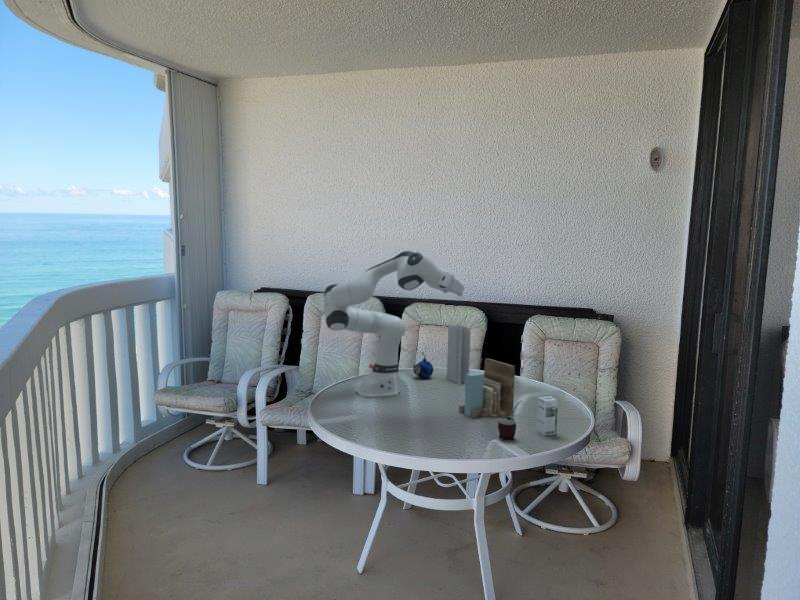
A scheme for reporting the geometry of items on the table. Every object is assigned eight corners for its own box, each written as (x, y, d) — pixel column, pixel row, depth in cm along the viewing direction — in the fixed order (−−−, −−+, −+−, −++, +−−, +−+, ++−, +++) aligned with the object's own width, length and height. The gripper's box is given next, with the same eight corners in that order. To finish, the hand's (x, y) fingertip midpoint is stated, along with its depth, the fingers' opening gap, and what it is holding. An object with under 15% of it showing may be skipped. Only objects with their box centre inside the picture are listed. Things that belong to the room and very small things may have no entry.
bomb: (410, 377, 319) (410, 351, 318) (424, 375, 326) (425, 349, 325) (422, 381, 312) (422, 354, 310) (436, 378, 319) (437, 351, 317)
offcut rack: (479, 421, 245) (481, 370, 243) (454, 409, 261) (455, 362, 258) (512, 414, 255) (514, 365, 253) (486, 404, 271) (488, 358, 268)
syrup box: (543, 436, 228) (545, 400, 226) (536, 431, 234) (537, 396, 232) (556, 435, 230) (558, 399, 228) (548, 430, 235) (550, 395, 234)
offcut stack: (490, 413, 252) (491, 384, 251) (472, 406, 263) (473, 378, 262) (499, 412, 255) (500, 383, 254) (480, 404, 266) (481, 377, 265)
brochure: (446, 378, 319) (448, 325, 316) (455, 377, 321) (457, 324, 318) (459, 384, 306) (461, 328, 303) (468, 383, 309) (470, 328, 306)
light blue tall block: (470, 416, 252) (471, 376, 250) (464, 413, 255) (465, 374, 253) (482, 414, 255) (483, 374, 253) (476, 411, 259) (478, 372, 257)
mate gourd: (494, 439, 223) (495, 401, 222) (502, 433, 230) (504, 396, 228) (512, 443, 219) (514, 404, 218) (520, 437, 226) (522, 400, 224)
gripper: (416, 280, 257) (434, 295, 266) (448, 287, 242) (466, 303, 250) (423, 268, 258) (440, 283, 267) (455, 274, 243) (473, 290, 252)
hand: (453, 293), depth 259 cm, fingers open, 8 cm apart
